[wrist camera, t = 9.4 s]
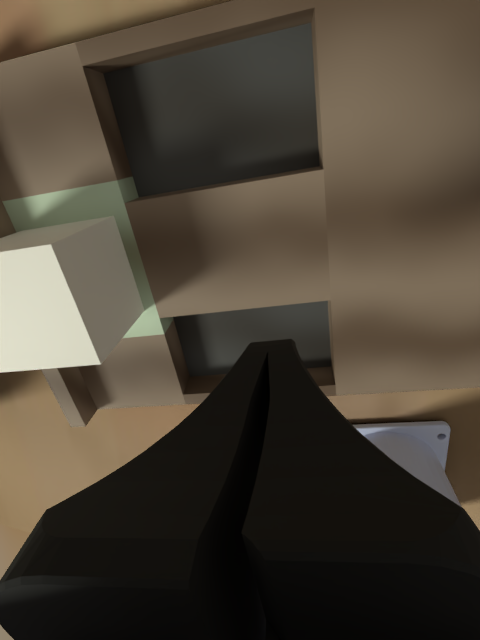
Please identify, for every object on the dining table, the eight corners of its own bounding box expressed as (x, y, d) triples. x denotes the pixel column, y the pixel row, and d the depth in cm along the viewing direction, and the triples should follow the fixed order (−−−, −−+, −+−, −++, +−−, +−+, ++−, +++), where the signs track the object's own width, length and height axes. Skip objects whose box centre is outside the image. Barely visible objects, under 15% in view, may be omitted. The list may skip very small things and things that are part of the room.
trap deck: (492, 363, 20) (530, 405, 17) (97, 390, 24) (70, 427, 21) (575, -69, 12) (677, -141, 9) (-36, 88, 16) (-111, 76, 13)
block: (144, 310, 18) (100, 364, 14) (61, 319, 19) (-5, 372, 15) (113, 215, 16) (50, 244, 12) (21, 230, 17) (-70, 262, 13)
